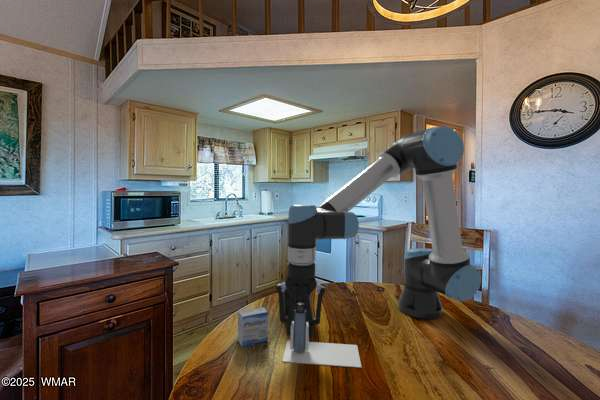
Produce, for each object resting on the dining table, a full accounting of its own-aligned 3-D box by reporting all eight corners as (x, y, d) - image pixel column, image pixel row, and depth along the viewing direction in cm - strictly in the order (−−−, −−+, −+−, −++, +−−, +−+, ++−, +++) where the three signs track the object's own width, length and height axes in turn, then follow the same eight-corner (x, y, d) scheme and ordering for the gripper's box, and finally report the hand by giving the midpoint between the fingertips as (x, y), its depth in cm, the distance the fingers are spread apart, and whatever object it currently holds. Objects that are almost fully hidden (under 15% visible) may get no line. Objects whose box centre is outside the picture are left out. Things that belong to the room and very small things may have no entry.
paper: (356, 345, 81) (356, 345, 81) (361, 367, 71) (361, 366, 71) (287, 340, 82) (287, 340, 82) (282, 361, 72) (282, 361, 72)
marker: (306, 346, 79) (307, 302, 78) (305, 353, 75) (306, 307, 75) (293, 345, 79) (294, 301, 78) (292, 352, 75) (293, 306, 75)
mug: (310, 310, 104) (311, 278, 103) (312, 330, 89) (313, 292, 88) (281, 309, 104) (281, 277, 103) (277, 329, 89) (278, 291, 89)
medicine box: (241, 347, 78) (241, 317, 78) (237, 340, 82) (237, 310, 82) (268, 341, 82) (268, 312, 82) (263, 334, 86) (263, 306, 86)
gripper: (268, 264, 73) (267, 353, 74) (332, 267, 72) (330, 357, 73) (273, 257, 81) (272, 338, 81) (331, 259, 79) (329, 341, 80)
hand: (299, 347), depth 77 cm, fingers closed on marker, 3 cm apart
